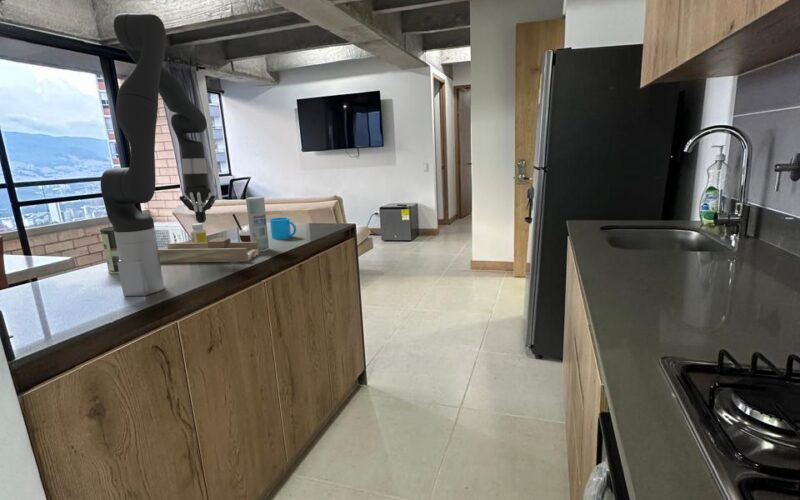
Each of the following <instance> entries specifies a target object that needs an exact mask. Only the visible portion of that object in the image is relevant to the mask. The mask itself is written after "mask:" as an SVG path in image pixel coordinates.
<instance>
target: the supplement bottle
mask: <svg viewBox="0 0 800 500" xmlns="http://www.w3.org/2000/svg"><path fill="white" fill-rule="evenodd" d="M190 237H191V243H208V238H207V232H206V229H205V228H204V224H203V223H198V222H197V223H192V224H191V230H190Z"/></svg>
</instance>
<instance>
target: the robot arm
mask: <svg viewBox="0 0 800 500" xmlns="http://www.w3.org/2000/svg"><path fill="white" fill-rule="evenodd" d="M113 29H114V30H113V31H114V34H115V36H116V38H117V40H118V42H119V44H120V45H121V46H122V48H123V49H124V51H125V52H126V53H127V54H128V55H129V56H130V58H131V59H132V60H133V61H134V63H135V64H136V66H134V68H133V69H132V70H131V72H130V73H129V74H128V75H127V76H126V78H125V79H124V80H123V82H122V83H121V85H120V86H119V88H118V92H117V95H116V96H117V97H116V106H115V117H116V120H117V122H118V126H119V127H120V129H121V130H122V133H123V134H124V136H125V138H126V140H127V142H128V145H129V150H130V160H129V162H130V163H129V166H128V167H115V168H114V167H113V168H112V167H111V168H108V169H106V170H105V171H103V173H102V175H101V177H100V192H101V197H102V200H103V204H104V208H105V211H106V216H107V218H108V221H109V223H110V224H111V227H113V229H114V234H115V239H116V245H117V250H118V256H119V261H118V262H117V264H118V269H119V274H118V275H119V278H120V284H121V289H122V294H123V297H132V296H133V297H138V296H139V297H143V296H144V297H146V296H148V295H151V294H155V293H158V292H160V291H162V290H164V288H165V282H164V278H163V271H162V265H161V264H162V263H160V258H159V252H158V249H159V247H158V246H159V245H158V241H157V235H156V229H155V228H156V227H155V221H154V219H153V217H152V216H150V215H147V214H145V213H144V212H142V211H140V210H139V209H138V208H137V207H136V204H146V203H148V202H150V201H151V200H152V198H153V197H154V195H155V191H156V159H155V158H156V155H155V154H156V153H155V151H156V131H157V122H158V121H157V120H158V110H159V96H160V97H161V99H162V100H163V103H164V104H165V106H166V107H167V109H168V110H169V111H170V112H172V115H171V117H170V124H171V126H172V130H173V132H174V133H175V136H176V138H177V141H178V144H179V148H180V152H181V159H182V161H181V165H182V166H181V168H182V173H183V176H182V177H183V182H184V186H185V190H184V194H182V195H181V196H179V201H181V202H182V203H183V204H184V206H185V207H186V208H187V209H188V210H189V211H192V212H194V214H195V220H196V222H197V223H202V224H203V223H205V222H206V221H207V215H206V211H208V210H209V211H210V210H211V209H212V207H213V205H214V203H215V202H216V200H217V199H218V195H217V194H213V193H212V192H211V191H212V190H211V189H210V187H209V175H208V167H207V162H206V158H205V149H204V148H205V147H204V144H203V142H202V141H199V140H197V139H196V140H195V139H191V138H190V136H189V135H188V134H201V133H203V132H205V131H206V129H207V125H208V124H207V123H208V122H207V119H206V116H205V115H204V114H203V112H202V110H201V109H200V108H198V107H197V105H196V104H194V102H193V101H192V100H191V99H190V98H189V96H188V94H187V92H186V90H185V88H184V87H183V85H182V83H181V81H180V80H179V79H178V78H177V77H176V76H175V75H174V74H172V72H170V70H167V69H166V68H165V67H164V66H163V63H164V58H165V52H166V46H167V32H166V26H165V25H164V22H163V20H162V19H161V18H160V17H159V16H157V15H156V14H153V13H145V12H144V13H135V12H133V13H129V12H127V13H126V12H125V13H118V14H116V15H115V17H114V18H113Z"/></svg>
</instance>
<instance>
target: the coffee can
mask: <svg viewBox="0 0 800 500" xmlns="http://www.w3.org/2000/svg"><path fill="white" fill-rule="evenodd" d="M99 232H100V233H101V239H102V245H103V250H104V254H105V260H106V264H107V265H106V266H107V269H108V270H107V271H108V274H112V275H120V274H119V269H118V264H117V262H118V261H119V256H118V250H117V245H116V239H115V234H114V229H113V226H109V227H108V226H107V227H103V228H101V229H100V230H99Z"/></svg>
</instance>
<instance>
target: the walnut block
mask: <svg viewBox="0 0 800 500" xmlns="http://www.w3.org/2000/svg"><path fill="white" fill-rule="evenodd" d="M230 242H231V238H230V237H228V238H227V237H225V238H224V237H221V238H220V237H218V238H213V239H210V240H207V243H208V249H215V248H231V243H230Z"/></svg>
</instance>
